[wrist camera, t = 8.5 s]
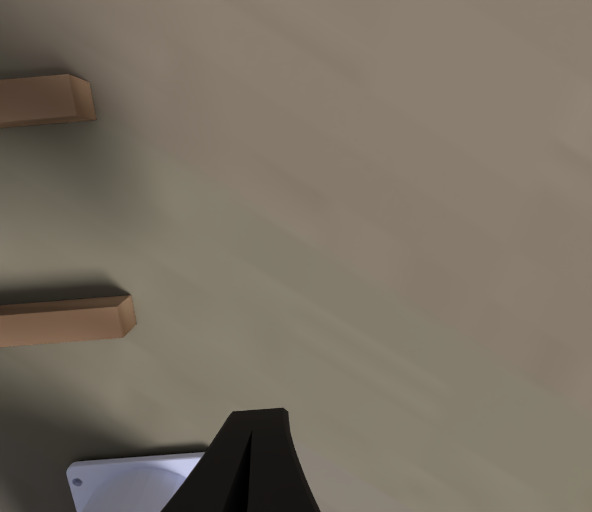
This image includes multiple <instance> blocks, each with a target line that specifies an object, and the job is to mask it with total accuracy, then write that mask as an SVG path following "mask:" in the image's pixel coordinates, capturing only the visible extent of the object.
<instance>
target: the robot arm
mask: <svg viewBox="0 0 592 512" xmlns="http://www.w3.org/2000/svg"><path fill="white" fill-rule="evenodd" d="M66 475H67V478H68V482H69V486H70V489H71V493H72V496H73V500H74V504H75V507H76V511H77V512H320V509H319V507H318V505H317V503H316V501H315V499H314V497H313V494H312V492H311V490H310V487H309V485H308V483H307V480H306V478H305V475H304V473H303V470H302V467H301V465H300V462H299V459H298V457H297V454H296V451H295V448H294V444H293V440H292V437H291V433H290V425H289V415H288V411H287V410H285V409H284V408H273V409H260V410H247V411H233V412H232V413H231V414H230V415H229V417H228V418H227V420H226V421H225V423H224V424H223V426H222V427H221V429H220V431H219V432H218V434H217V435H216V437H215V438H214V440H213V441H212V443H211V444H210V446H209V447H208V449H207V450H206V452H199V453H185V454H172V455H158V456H145V457H131V458H118V459H104V460H91V461H77V462H73V463H72V464H71V465H70V466H69V468H68V469H67V471H66ZM78 478H79V479H81V480H79V479H78Z"/></svg>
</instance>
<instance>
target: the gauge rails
mask: <svg viewBox="0 0 592 512" xmlns="http://www.w3.org/2000/svg"><path fill="white" fill-rule="evenodd" d="M91 120H97V119H96V114H95V109H94V104H93V99H92V94H91V89H90V83H89V82H87V81H85V80H82V79H80V78H77V77H75V76H72V75H70V74H62V75H50V76H38V77H26V78H14V79H2V80H0V128H6V127H18V126H30V125H42V124H54V123H67V122H79V121H91ZM136 324H137V322H136V317H135V312H134V307H133V302H132V297H131V295H125V296H113V297H100V298H87V299H74V300H61V301H49V302H36V303H23V304H10V305H0V347H8V346H21V345H34V344H47V343H60V342H73V341H86V340H99V339H112V338H123V337H124V336H125V335H126V334H127V333H128V332H129V331H130V330H131V329H132V328H133V327H134V326H135V325H136Z"/></svg>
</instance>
